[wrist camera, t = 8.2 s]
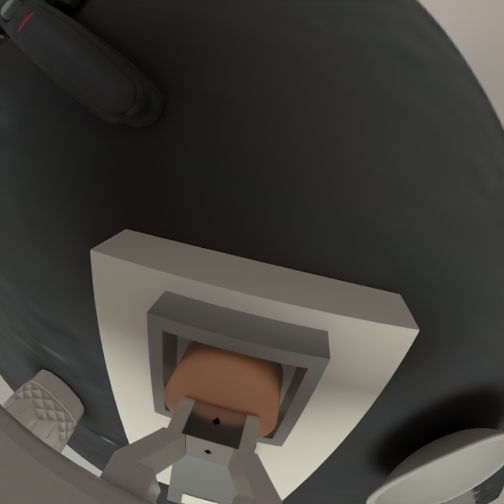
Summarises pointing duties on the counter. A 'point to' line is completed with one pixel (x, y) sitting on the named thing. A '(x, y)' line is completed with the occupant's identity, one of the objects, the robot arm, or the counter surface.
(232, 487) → the block
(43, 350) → the counter surface
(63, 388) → the white cup
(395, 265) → the counter surface
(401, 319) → the switch panel
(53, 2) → the can opener
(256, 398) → the push button
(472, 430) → the dish
